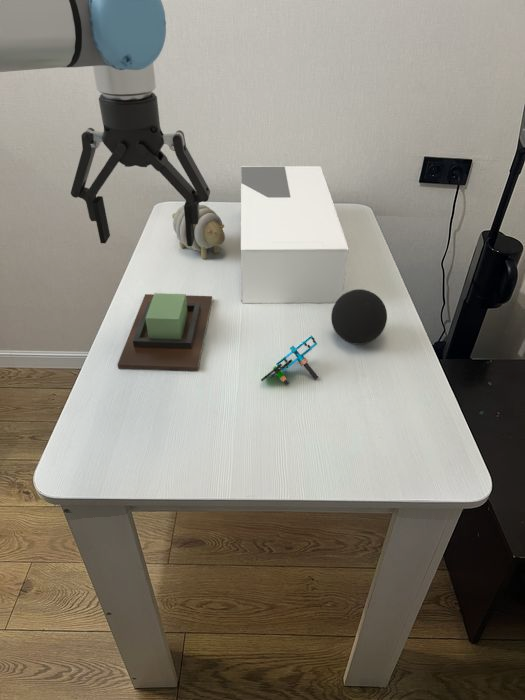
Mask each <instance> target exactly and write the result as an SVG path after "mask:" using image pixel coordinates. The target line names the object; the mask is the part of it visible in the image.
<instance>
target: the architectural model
mask: <svg viewBox="0 0 525 700" xmlns="http://www.w3.org/2000/svg"><path fill="white" fill-rule="evenodd" d="M349 250H350V249H349V246H348V242H347V239H346V236H345V234H344V230H343V227H342V224H341V222H340V219H339V216H338V213H337V209H336V207H335V204H334V201H333V197H332V196H331V192H330V189H329V187H328V184H327V180H326V178H325V174H324V172H323V169H322V166H321V165H241V166H240V251H241V253H240V254H241V255H240V256H241V258H240V259H241V260H240V261H241V300H240V301H241V304H308V303H309V304H313V303H314V304H317V303H318V304H319V303H326V304H327V303H328V304H329V303H333V304H335V303H336V301H337V300H338V299H339V298H340V297H341V296H342V295H343V293H344V287H345V286H344V285H345V280H346V279H345V277H346V272H347V264H348V257H349Z"/></svg>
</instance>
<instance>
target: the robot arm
mask: <svg viewBox="0 0 525 700" xmlns="http://www.w3.org/2000/svg"><path fill="white" fill-rule="evenodd" d="M165 12H166V11H165V8H164V4H163V2H162V0H0V73H6V72H19V71H31V70H45V69H56V68H84V67H93V68H92V69H93V75H94V80H95V87H96V91H98V92H99V93H100V95H99V97H98V103H99V108H100V115H101V120H102V121H101V122H102V126H103V132H102V131H96V130H95V129H94V128H93V127H88V128H87V129H86V130H84V132H82V134H81V135H80V137H81V145H82V146H81V148H82V150H81V154H80V157H79V161H78V165H77V168H76V172H75V175H74V179H73V183H72V187H71V190H70V195H71V197H73V198H74V199H75V198H76V199H77V198H79V199H82V200H84V202H85V204H86V209H87V213H88V217H89V220H90V221H91V222H95V223H96V228H97V232H98V238H99V242H100V244H106V243H107V242H108V240H109V239H110V237H111V233H110V229H109V228H110V227H109V222H108V218H107V212H106V207H105V202H104V197H103V196H102V195H98V193H99V192H100V190H101V189H102V187H103V186H104V184H105V183H106V182H107V180H108V178H109V177H110V176H111V174H112V173H113V171H114V170H115V168H116V167H117V165H118V164H119V163H120V164H121V165H123V166H124V167H126V168H129V167H130V168H131V167H135V166H137V167H138V168H139V167H140V168H148V167H149V166H151V167H152V168H153V169H154V170H155V171H156V172H159V173H160V174H161V175H162V176H163V177H164V178H165V180H167V182H168V183H169V184H170V185H171V186H172V187H173V188H174V189H175V190H176V192H178V194H180V195H181V197H182V198H183V199H184V200H185V202H184V213H185V225H186V236H187V246H192V245H193V242H194V225H193V224H198V221H199V218H200V215H199V205H200V203H203V202H208V201H209V199H210V195H211V190H210V187H209V186H208V183H207V182H206V180H205V178H204V177H203V175H202V173H201V171H200V169H199V168H198V165H197V163H196V162H195V159H194V158H193V157H192V154H191V152H190V151H189V149H188V147H187V144H186V139H185V138H186V137H185V134H184V131H182V130H179V129H178V130H176V132H175V133H163V131H162V128H161V122H160V112H159V102H158V96H157V95H156V94H155V92H154V91H155V89H156V87H157V85H156V76H155V66H154V63H155V61H156V60H157V59H158V57H160V55H161V52H162V51H163V48H164V45H165V41H166V36H167V21H166V13H165ZM101 143H103V145H104V146H105V147H106V148H107V149H108V151H109V152H110V153H111V154H110V156H109V158H108V160H107V161H106V162H105V164H104V166H102V169H100V172H99V173H98V175H97V176H96V178H95V179H94V180H93V182H92V184H91V185H90V186H89V188H88V187H86V184H87V181H88V177H89V174H90V171H91V167H92V164H93V161H94V157H95V155H96V150H97V149H98V148H99V147H100V145H101ZM164 145H167V146H168V147H169V149H170V150H171V151H173V152H174V153H175V155H176V159H177V160H178V163H180V165H181V167H182V169H183V171H184V173H185V174H186V176H187V178H188V179H189V182H190V183H191V184H190V183H189V182H188V180H187V179H186V178H185V177H184V176H183V175H182V174H181V172H180V171H179V170H178V169H177V168H176V167H175V166H174V165H173V164H172V163H171V161H169V159H168V157H167V156H166V154H165V153H164V152H163V151H162V148H163V147H164ZM97 195H98V196H97Z"/></svg>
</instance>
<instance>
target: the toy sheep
mask: <svg viewBox="0 0 525 700" xmlns="http://www.w3.org/2000/svg"><path fill="white" fill-rule="evenodd" d="M184 205H185V204H184ZM184 205H182V206H180V207H179V208H178V209H177V210H176V212H174V213H172V215H171V216H172V217H171V218H172V220H173V221H172V226H173V227H172V228H173V230H174V234H176V237H177V239H178V240H179V247H180V249H185V248H187V249H189V250H191V251H192V250H193V251H199V252H200V256H201V257H200V258H201V259H202V260H206V259H207V258H208V255H207V249H209V248H212V251H213V253H216V254H217V253H218V252H219V246H221V245H223V243H224V242H225V239H226V235H225V232H224V228H225V224H223V222H222V218H221V217H220V216H219V215H218V214H217V213H216V212H215V211H214V210H213V209H211V208H210V207H209V206H207V205H204V204H199V215H200V218H199V221H198V224H193V225H194V242H193V245H192V246H187V236H186V225H185V213H184Z"/></svg>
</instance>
